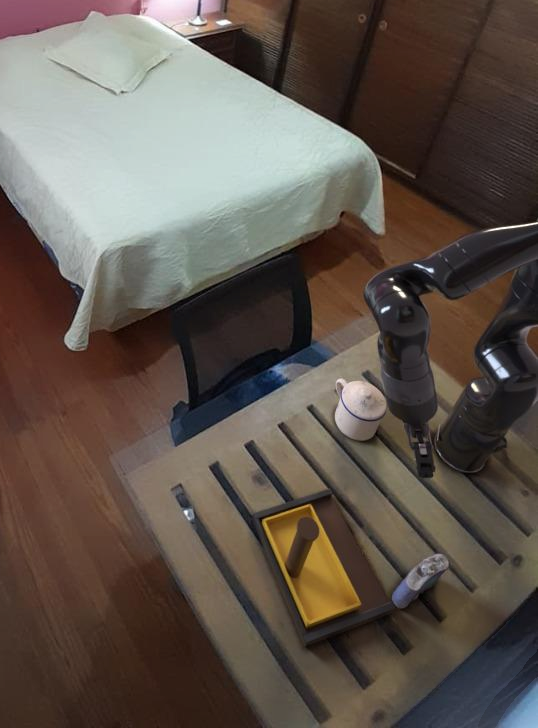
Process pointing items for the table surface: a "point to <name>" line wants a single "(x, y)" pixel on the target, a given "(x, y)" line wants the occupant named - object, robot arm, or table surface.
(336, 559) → the tray
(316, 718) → the table surface
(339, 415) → the teacup with lid
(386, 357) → the robot arm
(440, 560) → the flask
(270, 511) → the track
